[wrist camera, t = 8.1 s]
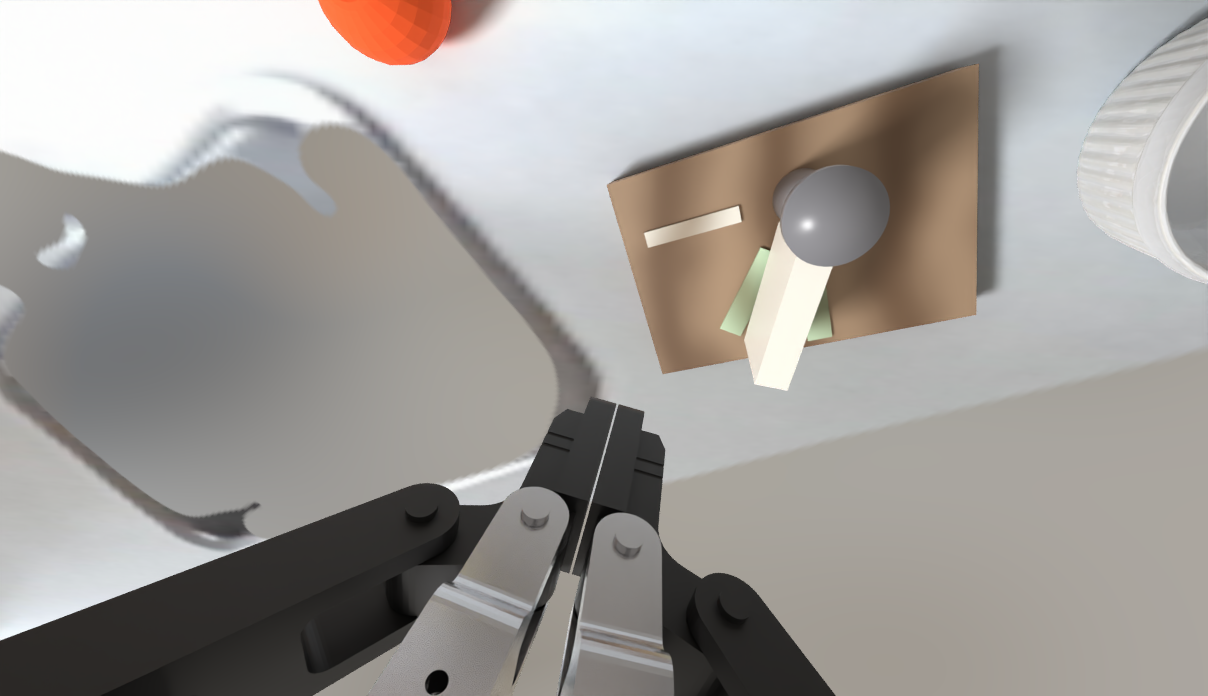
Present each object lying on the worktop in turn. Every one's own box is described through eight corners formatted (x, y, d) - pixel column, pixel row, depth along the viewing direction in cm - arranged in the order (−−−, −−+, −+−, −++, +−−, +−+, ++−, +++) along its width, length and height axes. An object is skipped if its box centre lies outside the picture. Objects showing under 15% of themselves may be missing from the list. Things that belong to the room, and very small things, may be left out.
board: (957, 68, 24) (980, 63, 22) (959, 303, 29) (977, 315, 27) (611, 181, 30) (606, 185, 28) (664, 361, 35) (662, 375, 33)
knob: (774, 151, 25) (800, 159, 19) (853, 162, 25) (907, 173, 19) (724, 334, 31) (732, 387, 25) (789, 346, 30) (814, 402, 24)
